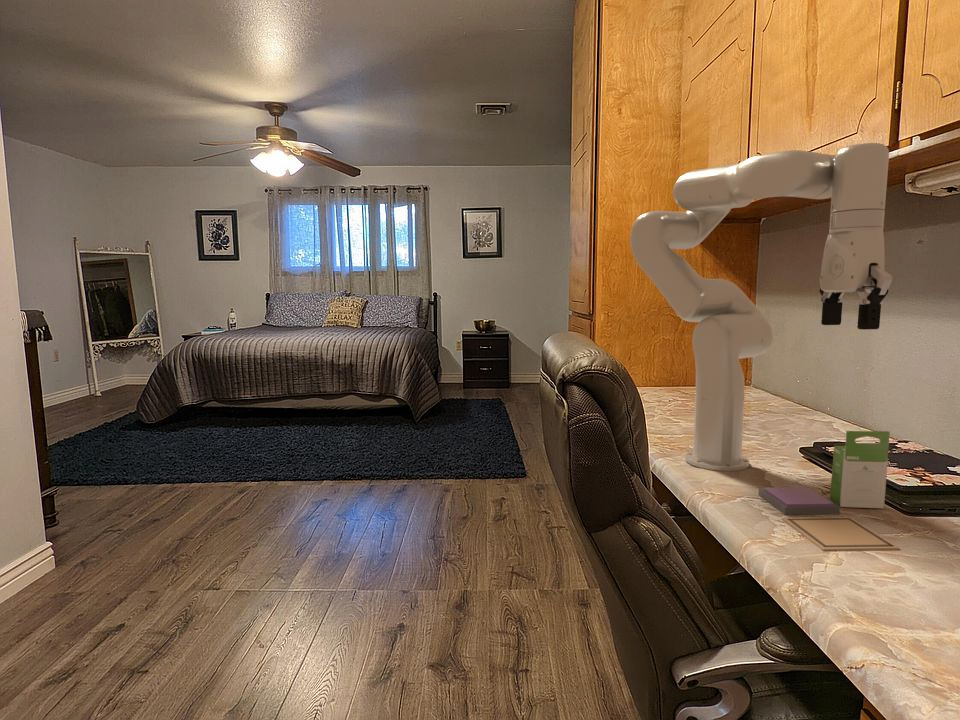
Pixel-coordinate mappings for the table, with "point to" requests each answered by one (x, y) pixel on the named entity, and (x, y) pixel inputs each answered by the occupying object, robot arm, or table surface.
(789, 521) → the marked card
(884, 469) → the ink box
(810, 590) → the table surface
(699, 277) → the robot arm
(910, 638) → the table surface
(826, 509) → the ink pad
